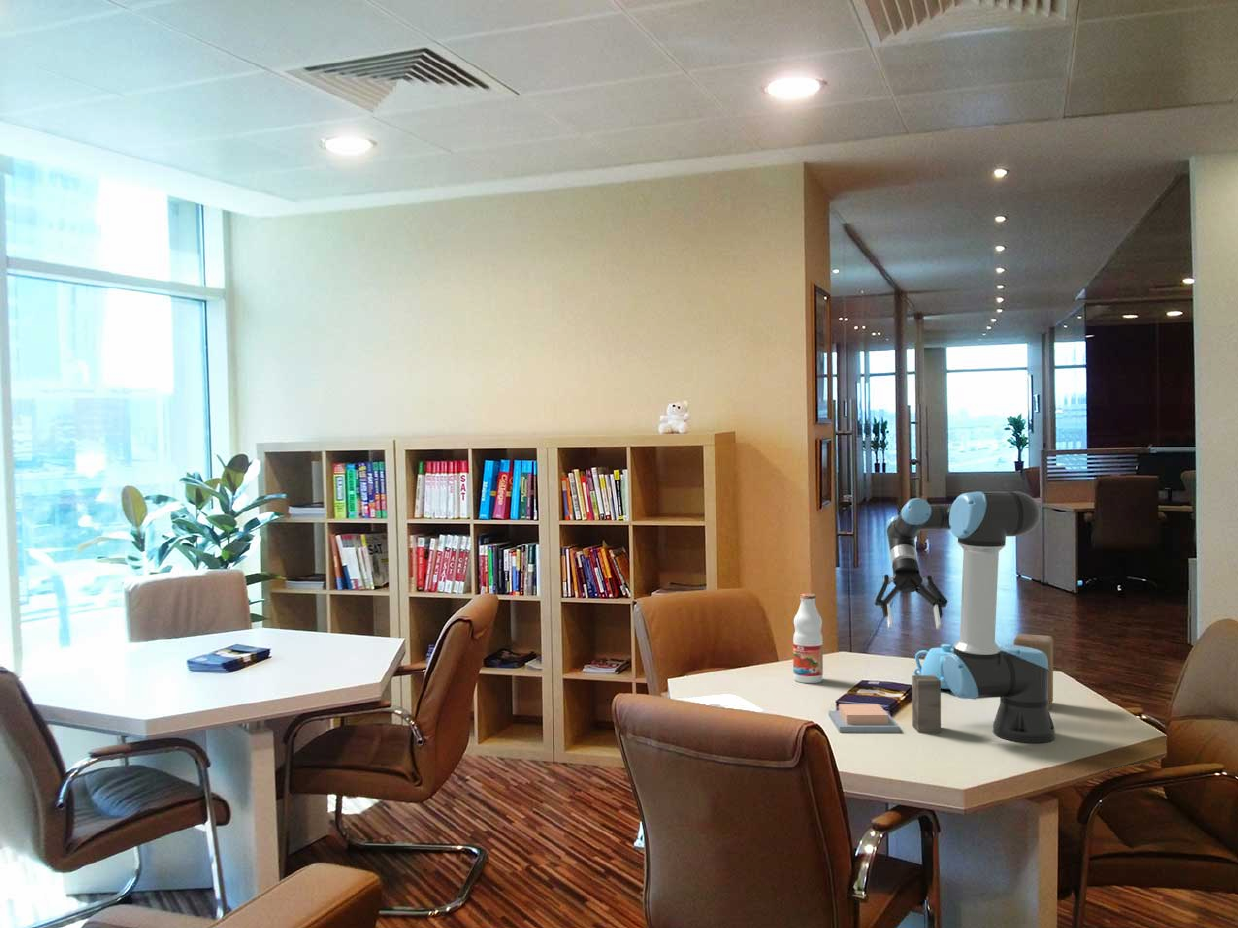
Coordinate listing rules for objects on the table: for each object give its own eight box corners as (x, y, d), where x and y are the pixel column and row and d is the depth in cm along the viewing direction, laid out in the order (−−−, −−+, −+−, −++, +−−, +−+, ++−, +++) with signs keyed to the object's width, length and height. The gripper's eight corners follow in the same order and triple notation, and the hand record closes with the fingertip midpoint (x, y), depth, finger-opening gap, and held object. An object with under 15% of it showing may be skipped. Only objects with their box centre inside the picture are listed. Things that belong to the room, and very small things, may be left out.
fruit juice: (828, 680, 324) (828, 594, 323) (811, 685, 317) (810, 597, 317) (805, 675, 331) (804, 591, 330) (787, 680, 324) (787, 594, 324)
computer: (664, 709, 292) (664, 700, 292) (732, 702, 299) (732, 693, 299) (696, 729, 271) (696, 719, 271) (768, 721, 279) (768, 711, 279)
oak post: (912, 726, 272) (912, 675, 271) (934, 726, 271) (934, 675, 271) (918, 732, 266) (918, 680, 265) (940, 732, 265) (940, 680, 265)
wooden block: (1013, 707, 290) (1013, 638, 289) (1016, 698, 299) (1016, 632, 298) (1050, 711, 285) (1050, 641, 285) (1053, 702, 294) (1053, 635, 294)
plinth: (828, 715, 282) (828, 701, 282) (885, 715, 282) (885, 701, 282) (839, 732, 266) (839, 717, 266) (899, 732, 266) (899, 717, 266)
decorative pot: (955, 680, 323) (955, 638, 323) (984, 691, 307) (984, 648, 307) (910, 683, 319) (909, 641, 319) (937, 695, 304) (937, 651, 303)
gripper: (944, 571, 298) (956, 633, 285) (860, 569, 300) (868, 631, 286) (950, 557, 292) (962, 620, 279) (864, 555, 294) (872, 618, 281)
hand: (914, 626), depth 283 cm, fingers open, 13 cm apart
